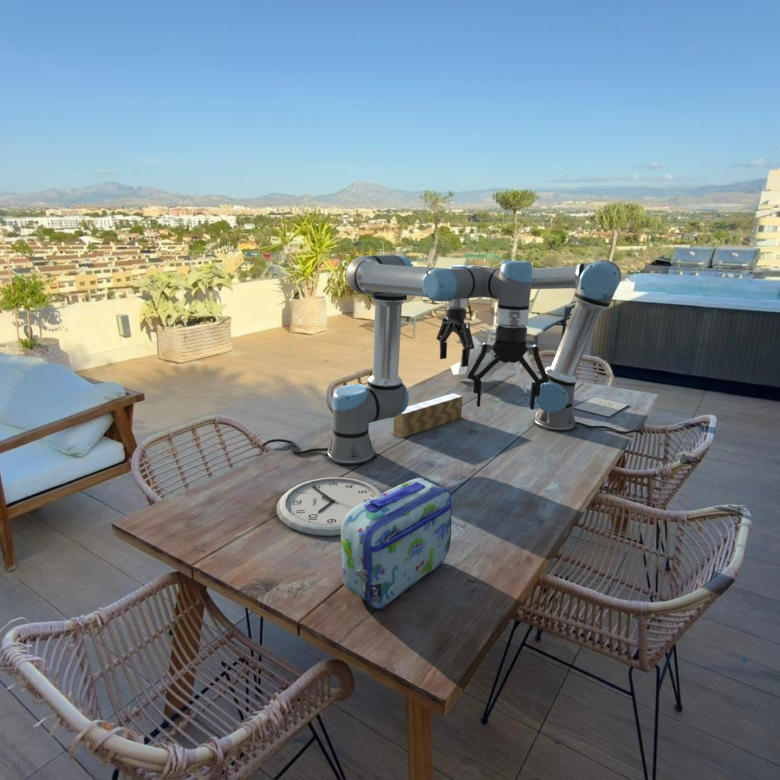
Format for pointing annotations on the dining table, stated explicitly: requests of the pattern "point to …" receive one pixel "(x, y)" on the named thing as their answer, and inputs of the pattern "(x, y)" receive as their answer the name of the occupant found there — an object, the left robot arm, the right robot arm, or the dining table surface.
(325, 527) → the wall clock
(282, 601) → the dining table surface
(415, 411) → the bar
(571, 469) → the dining table surface
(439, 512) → the lunch box
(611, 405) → the invitation card
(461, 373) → the white plastic object
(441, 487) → the fork
